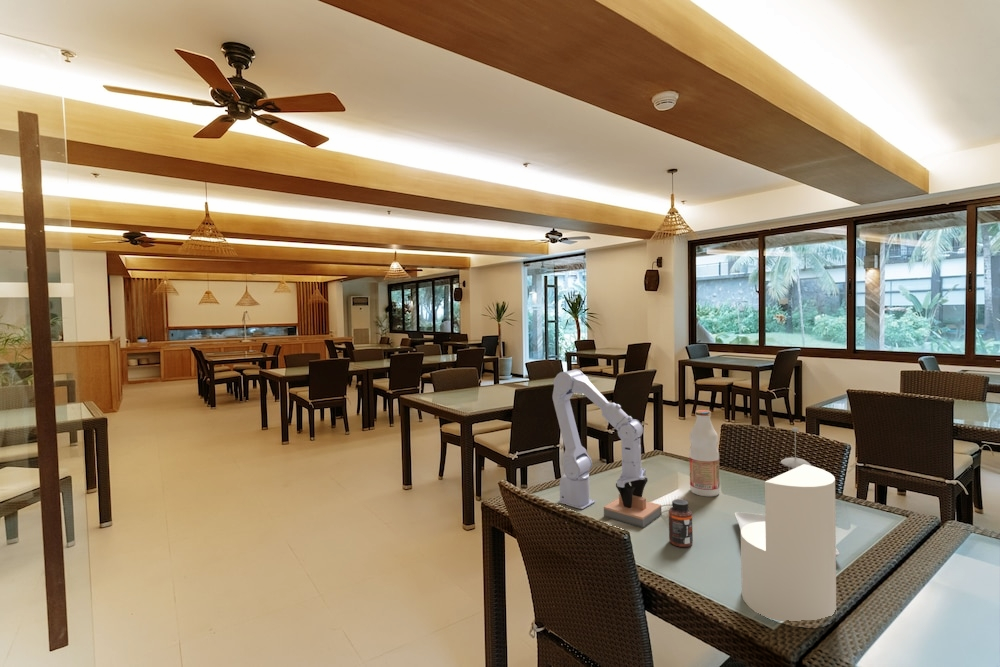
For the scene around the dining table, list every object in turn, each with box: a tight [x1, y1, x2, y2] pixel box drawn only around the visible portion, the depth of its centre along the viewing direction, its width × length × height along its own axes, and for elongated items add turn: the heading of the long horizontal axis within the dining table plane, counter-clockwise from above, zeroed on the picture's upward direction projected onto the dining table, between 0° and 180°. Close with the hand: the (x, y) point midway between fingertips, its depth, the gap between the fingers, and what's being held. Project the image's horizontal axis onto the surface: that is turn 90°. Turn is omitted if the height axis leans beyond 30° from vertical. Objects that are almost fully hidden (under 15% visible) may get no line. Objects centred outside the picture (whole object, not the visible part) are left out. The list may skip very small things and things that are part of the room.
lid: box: [603, 493, 662, 520], centre depth 150 cm, size 13×12×4 cm
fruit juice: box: [688, 409, 721, 497], centre depth 167 cm, size 9×9×28 cm
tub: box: [603, 507, 662, 529], centre depth 150 cm, size 13×12×2 cm
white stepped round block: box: [740, 464, 837, 621], centre depth 103 cm, size 17×17×28 cm
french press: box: [780, 426, 812, 471], centre depth 153 cm, size 10×12×25 cm
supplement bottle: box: [668, 498, 694, 548], centre depth 131 cm, size 6×6×11 cm
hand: (632, 503), depth 150 cm, fingers open, 6 cm apart
